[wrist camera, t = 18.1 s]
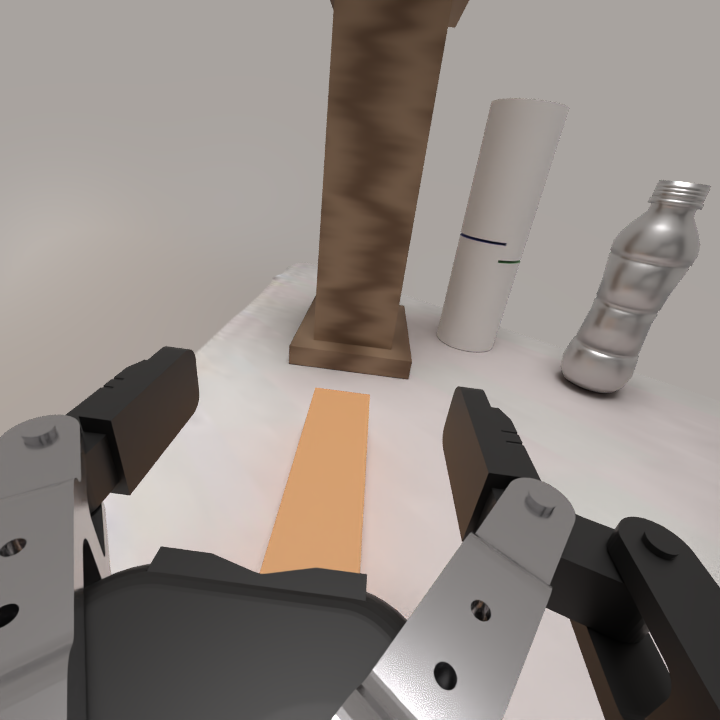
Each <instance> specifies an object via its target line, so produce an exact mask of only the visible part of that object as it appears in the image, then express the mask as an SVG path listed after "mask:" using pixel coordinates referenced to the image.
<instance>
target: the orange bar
mask: <svg viewBox="0 0 720 720" xmlns="http://www.w3.org/2000/svg"><path fill="white" fill-rule="evenodd" d="M369 400H370V395H368V394H360V393H352V392H345V391H337V390H330V389H322V388H315V391H314V394H313V398H312V401H311V404H310V408H309V411H308V414H307V418H306V421H305V424H304V427H303V431H302V434H301V437H300V441H299V444H298V447H297V451H296V454H295V457H294V461H293V464H292V467H291V471H290V474H289V477H288V481H287V484H286V487H285V491H284V494H283V497H282V501H281V504H280V507H279V511H278V514H277V517H276V521H275V524H274V527H273V531H272V534H271V537H270V541H269V544H268V547H267V551H266V554H265V557H264V561H263V564H262V567H261V571H260V574H266V573H275V572H283V571H291V570H300V569H308V568H316V567H317V568H324V569H331V570H339V571H346V572H354V573H360V560H361V542H362V524H363V507H364V489H365V471H366V453H367V436H368V418H369Z"/></svg>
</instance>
